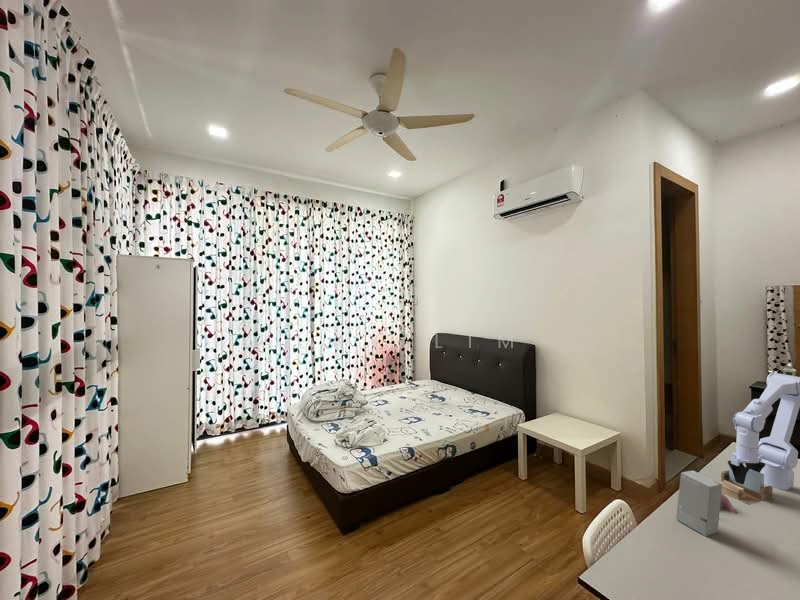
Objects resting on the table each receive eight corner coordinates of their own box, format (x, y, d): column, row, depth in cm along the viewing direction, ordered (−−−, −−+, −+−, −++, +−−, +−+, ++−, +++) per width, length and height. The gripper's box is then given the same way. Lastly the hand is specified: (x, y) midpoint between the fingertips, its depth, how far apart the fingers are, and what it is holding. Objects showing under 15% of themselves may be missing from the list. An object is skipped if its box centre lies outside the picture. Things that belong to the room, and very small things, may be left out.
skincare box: (675, 520, 108) (677, 472, 107) (689, 515, 110) (691, 468, 110) (707, 538, 100) (709, 486, 99) (721, 532, 102) (723, 482, 102)
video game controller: (728, 514, 113) (720, 491, 116) (739, 516, 109) (731, 492, 112) (696, 512, 114) (690, 489, 117) (706, 514, 110) (700, 490, 113)
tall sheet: (732, 482, 128) (732, 462, 128) (763, 496, 120) (764, 474, 120) (728, 483, 128) (729, 463, 128) (760, 497, 119) (760, 475, 119)
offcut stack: (724, 487, 125) (724, 480, 124) (745, 497, 119) (745, 489, 119) (717, 489, 123) (717, 481, 123) (738, 499, 118) (738, 491, 118)
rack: (730, 482, 130) (730, 469, 130) (772, 501, 119) (772, 486, 119) (707, 488, 126) (707, 475, 126) (748, 508, 115) (748, 493, 115)
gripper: (745, 438, 129) (743, 472, 130) (721, 443, 125) (720, 478, 125) (770, 446, 123) (768, 482, 123) (745, 451, 118) (744, 489, 118)
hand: (745, 481), depth 124 cm, fingers open, 7 cm apart
